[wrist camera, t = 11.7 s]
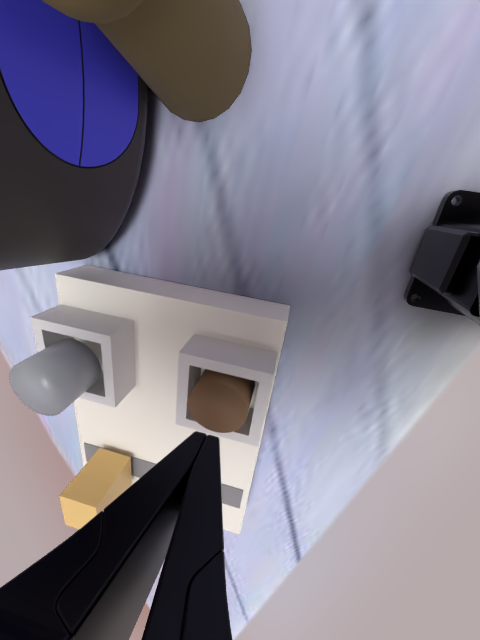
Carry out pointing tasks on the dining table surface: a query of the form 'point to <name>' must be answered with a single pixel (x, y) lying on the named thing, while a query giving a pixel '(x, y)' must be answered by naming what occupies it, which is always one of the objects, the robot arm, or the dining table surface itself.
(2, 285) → the dining table surface
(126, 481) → the tan wooden brick
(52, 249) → the leaning round-cornered charcoal block
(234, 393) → the walnut button
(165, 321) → the control panel
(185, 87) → the olive knobbed pillar
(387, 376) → the dining table surface
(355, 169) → the dining table surface
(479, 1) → the dining table surface
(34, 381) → the grey button
